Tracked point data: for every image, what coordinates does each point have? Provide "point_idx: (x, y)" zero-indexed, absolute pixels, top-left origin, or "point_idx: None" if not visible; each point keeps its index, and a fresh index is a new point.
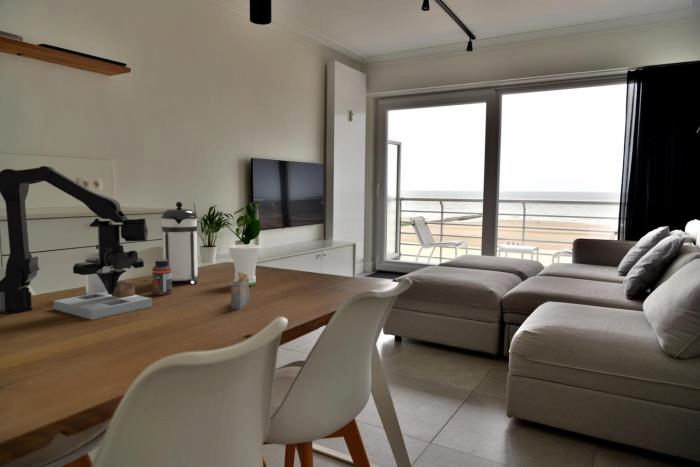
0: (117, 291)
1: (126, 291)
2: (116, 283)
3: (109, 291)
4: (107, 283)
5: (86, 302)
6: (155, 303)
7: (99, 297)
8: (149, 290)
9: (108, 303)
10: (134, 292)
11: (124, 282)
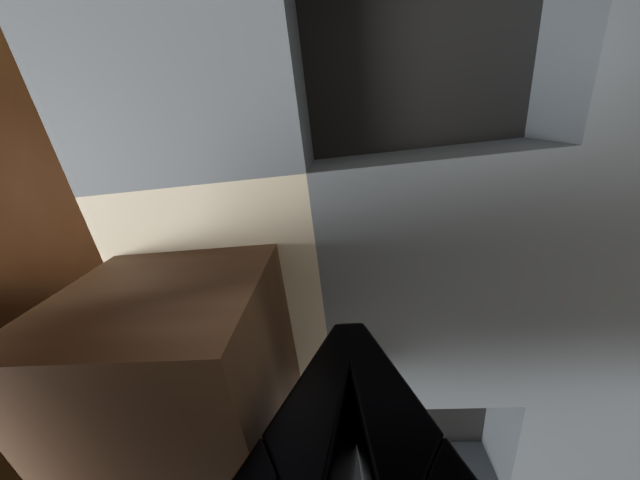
0: (273, 338)
1: (178, 281)
2: (265, 434)
3: (380, 353)
4: (459, 477)
5: (624, 301)
6: (4, 85)
7: None
8: (5, 464)
9: (469, 151)
10: (95, 271)
11: (104, 458)
